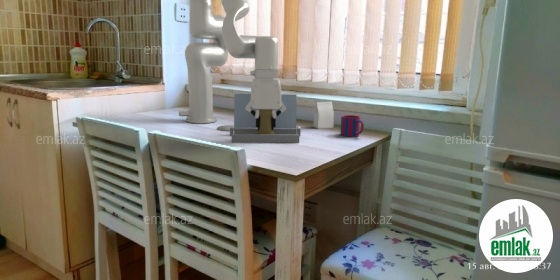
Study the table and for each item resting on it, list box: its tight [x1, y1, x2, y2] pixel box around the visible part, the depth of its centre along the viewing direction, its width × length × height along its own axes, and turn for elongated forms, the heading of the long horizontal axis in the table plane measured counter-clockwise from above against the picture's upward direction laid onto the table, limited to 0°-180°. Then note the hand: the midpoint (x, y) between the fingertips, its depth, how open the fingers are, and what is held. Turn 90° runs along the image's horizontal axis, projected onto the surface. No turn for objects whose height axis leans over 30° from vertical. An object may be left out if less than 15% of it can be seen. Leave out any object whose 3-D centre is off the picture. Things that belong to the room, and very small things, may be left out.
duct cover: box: [233, 93, 297, 128], centre depth 147 cm, size 12×22×1 cm
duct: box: [229, 126, 302, 144], centre depth 141 cm, size 12×25×3 cm, turn 93°
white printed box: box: [313, 101, 335, 130], centre depth 161 cm, size 4×7×10 cm, turn 114°
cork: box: [257, 110, 274, 134], centre depth 140 cm, size 6×6×11 cm
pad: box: [216, 124, 234, 132], centre depth 157 cm, size 10×10×1 cm
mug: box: [339, 114, 365, 138], centre depth 147 cm, size 7×10×7 cm
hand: (265, 128), depth 140 cm, fingers closed on cork, 3 cm apart
